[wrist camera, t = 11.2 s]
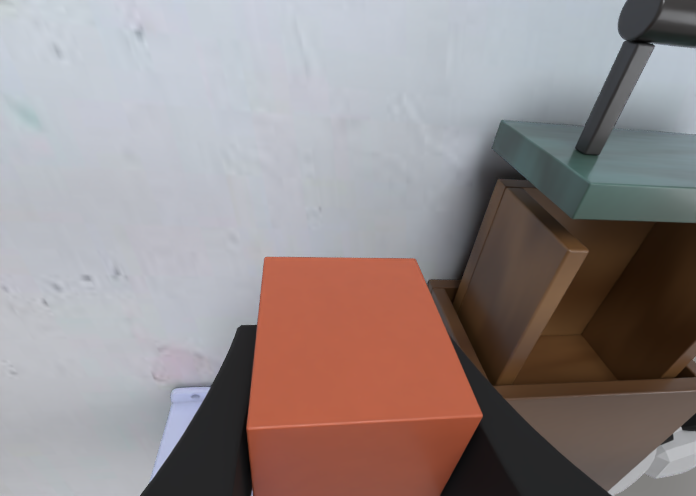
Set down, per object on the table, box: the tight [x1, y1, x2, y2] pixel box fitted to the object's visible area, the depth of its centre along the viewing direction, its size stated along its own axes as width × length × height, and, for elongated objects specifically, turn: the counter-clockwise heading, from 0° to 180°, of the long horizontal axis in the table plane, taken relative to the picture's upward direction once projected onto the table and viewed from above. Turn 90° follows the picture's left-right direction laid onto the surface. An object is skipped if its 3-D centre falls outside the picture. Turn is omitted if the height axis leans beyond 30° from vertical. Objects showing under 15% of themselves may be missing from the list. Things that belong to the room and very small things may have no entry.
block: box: [246, 257, 483, 496], centre depth 10 cm, size 4×4×5 cm
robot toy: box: [608, 413, 696, 496], centre depth 32 cm, size 12×4×15 cm
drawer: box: [453, 0, 696, 386], centre depth 16 cm, size 17×10×6 cm, turn 174°
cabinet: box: [427, 280, 696, 496], centre depth 23 cm, size 13×11×7 cm
